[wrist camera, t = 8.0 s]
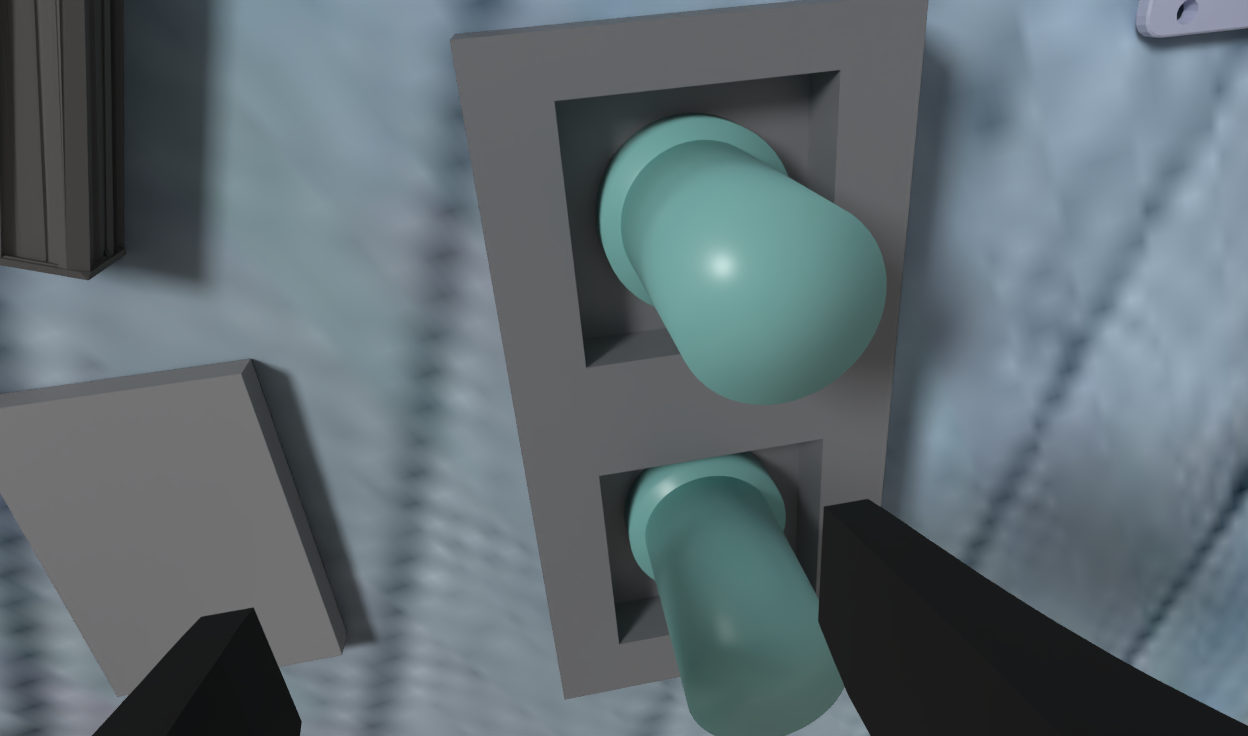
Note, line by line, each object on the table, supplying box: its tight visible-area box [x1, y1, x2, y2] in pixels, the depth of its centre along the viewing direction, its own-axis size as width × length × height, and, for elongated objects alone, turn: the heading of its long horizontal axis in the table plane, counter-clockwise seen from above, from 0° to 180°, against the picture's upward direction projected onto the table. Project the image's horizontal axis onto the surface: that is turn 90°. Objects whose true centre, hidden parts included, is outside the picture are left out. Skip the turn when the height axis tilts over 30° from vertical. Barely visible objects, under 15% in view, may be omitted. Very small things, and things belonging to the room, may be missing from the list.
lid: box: [0, 359, 347, 697], centre depth 19 cm, size 6×9×1 cm, turn 5°
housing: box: [450, 0, 928, 699], centre depth 19 cm, size 9×17×2 cm, turn 5°
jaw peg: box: [625, 451, 845, 736], centre depth 18 cm, size 4×4×6 cm
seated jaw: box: [595, 112, 887, 405], centre depth 14 cm, size 4×4×6 cm
